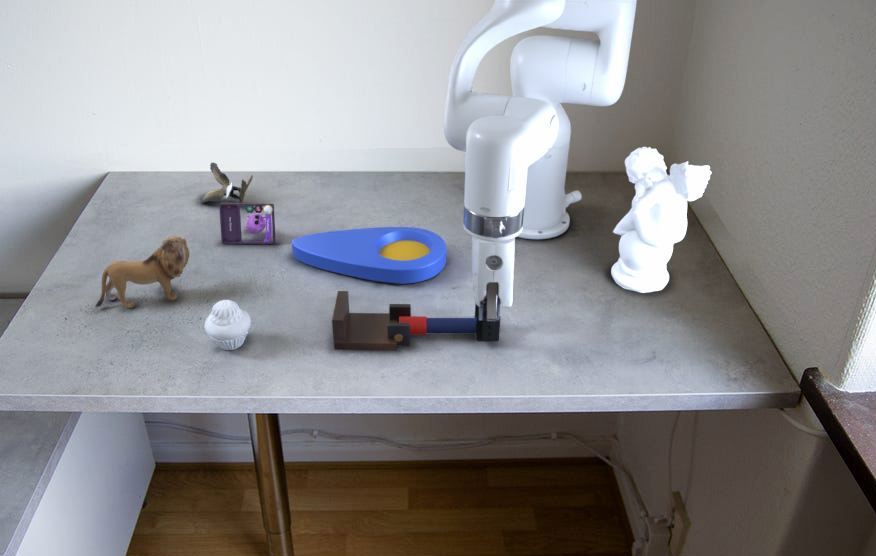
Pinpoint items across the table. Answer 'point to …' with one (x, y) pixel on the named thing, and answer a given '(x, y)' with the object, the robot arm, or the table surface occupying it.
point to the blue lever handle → (439, 325)
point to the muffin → (228, 325)
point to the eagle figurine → (224, 187)
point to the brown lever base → (369, 327)
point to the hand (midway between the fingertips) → (486, 331)
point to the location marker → (375, 253)
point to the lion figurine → (147, 271)
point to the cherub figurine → (654, 218)
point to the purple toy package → (254, 224)
